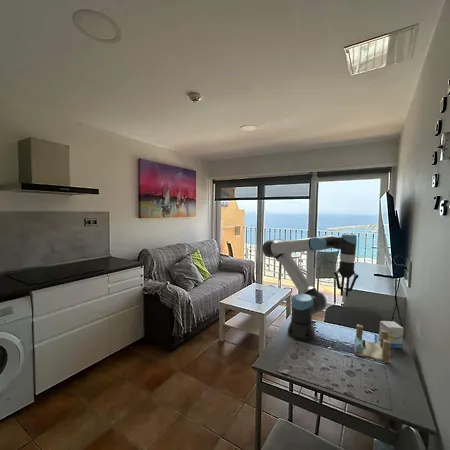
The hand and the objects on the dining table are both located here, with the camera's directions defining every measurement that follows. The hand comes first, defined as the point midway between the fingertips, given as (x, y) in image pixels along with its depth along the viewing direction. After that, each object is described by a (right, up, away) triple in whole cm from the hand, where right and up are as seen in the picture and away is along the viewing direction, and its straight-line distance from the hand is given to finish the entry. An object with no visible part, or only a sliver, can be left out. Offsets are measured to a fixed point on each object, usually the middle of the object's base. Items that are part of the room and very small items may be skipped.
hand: (343, 301), depth 145 cm
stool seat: (+11, -24, -8) cm, 28 cm away
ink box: (+26, -24, -1) cm, 36 cm away
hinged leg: (+5, -23, -7) cm, 24 cm away
